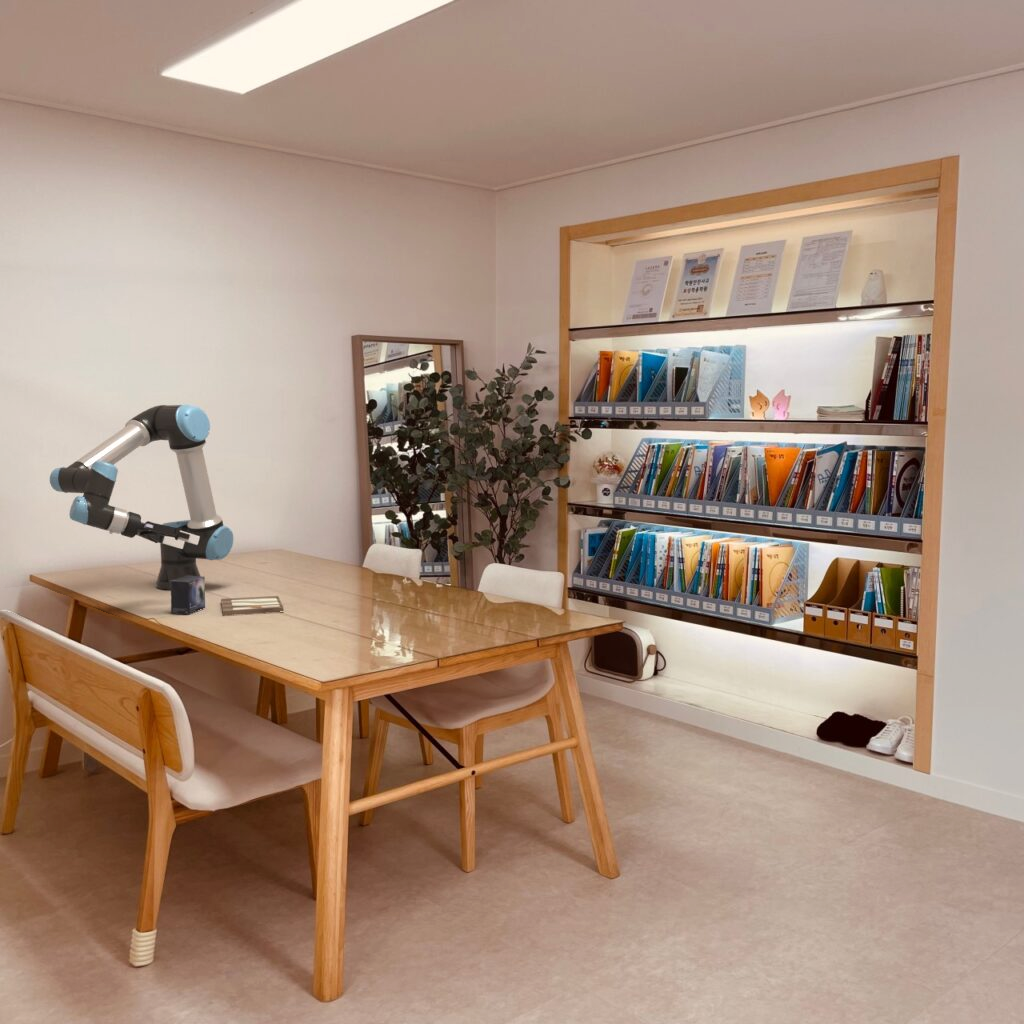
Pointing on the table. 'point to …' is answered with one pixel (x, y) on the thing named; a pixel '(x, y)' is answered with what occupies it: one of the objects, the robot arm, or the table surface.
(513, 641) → the table surface
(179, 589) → the small box
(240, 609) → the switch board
